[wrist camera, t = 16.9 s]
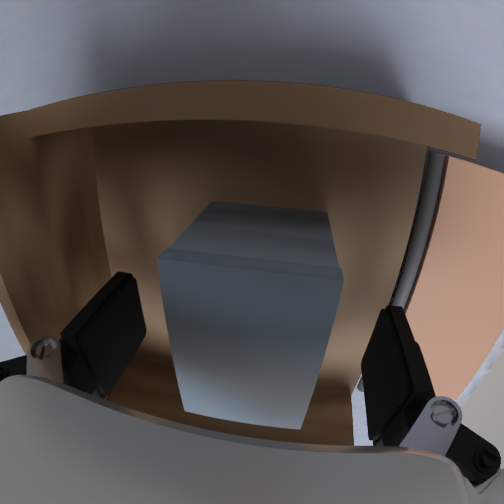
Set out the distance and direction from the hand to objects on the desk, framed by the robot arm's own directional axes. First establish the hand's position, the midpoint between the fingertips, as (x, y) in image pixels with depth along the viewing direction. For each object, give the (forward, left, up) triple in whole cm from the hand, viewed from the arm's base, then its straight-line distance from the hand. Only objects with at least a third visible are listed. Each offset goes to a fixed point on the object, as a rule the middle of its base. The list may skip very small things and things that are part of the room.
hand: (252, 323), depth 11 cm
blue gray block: (0, 0, -3) cm, 3 cm away
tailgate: (0, +6, -3) cm, 7 cm away
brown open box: (0, -1, -5) cm, 5 cm away
